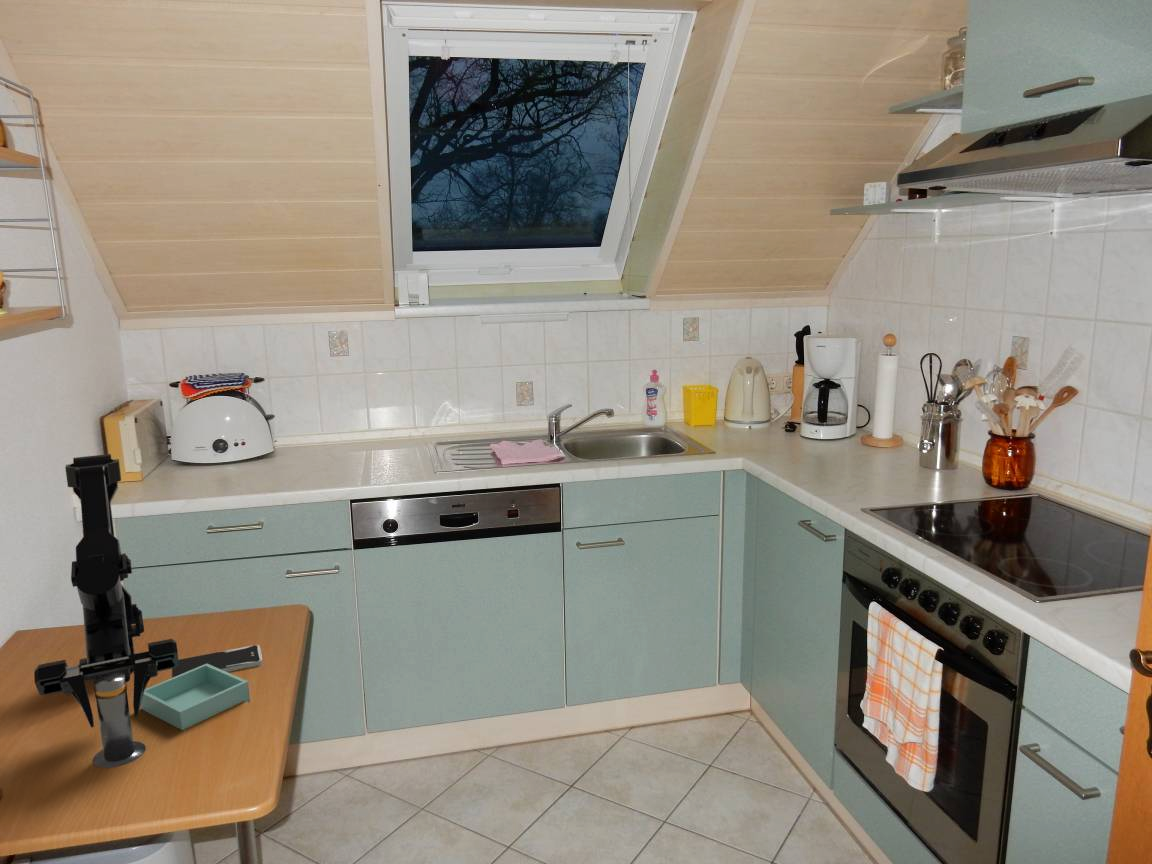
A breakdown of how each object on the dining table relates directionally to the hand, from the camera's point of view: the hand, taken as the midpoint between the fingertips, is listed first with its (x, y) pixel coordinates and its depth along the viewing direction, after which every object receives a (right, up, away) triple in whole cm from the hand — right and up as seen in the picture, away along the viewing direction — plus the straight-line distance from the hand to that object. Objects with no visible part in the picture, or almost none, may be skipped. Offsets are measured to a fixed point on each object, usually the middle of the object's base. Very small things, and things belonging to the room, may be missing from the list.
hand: (114, 721), depth 125 cm
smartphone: (+2, -1, +32) cm, 32 cm away
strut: (0, -6, +2) cm, 6 cm away
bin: (+4, -3, +17) cm, 18 cm away
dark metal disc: (0, -6, +2) cm, 7 cm away
